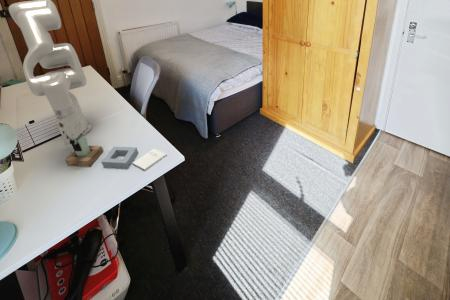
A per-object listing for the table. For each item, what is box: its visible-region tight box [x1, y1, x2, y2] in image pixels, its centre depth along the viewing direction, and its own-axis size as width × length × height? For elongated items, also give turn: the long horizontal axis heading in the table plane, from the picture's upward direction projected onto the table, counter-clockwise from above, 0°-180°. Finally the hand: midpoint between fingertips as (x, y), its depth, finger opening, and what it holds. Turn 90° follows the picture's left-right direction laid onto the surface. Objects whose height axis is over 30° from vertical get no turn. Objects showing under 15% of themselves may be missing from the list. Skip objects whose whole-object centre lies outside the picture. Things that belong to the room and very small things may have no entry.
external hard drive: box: [131, 148, 168, 172], centre depth 121 cm, size 2×8×12 cm
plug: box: [72, 135, 91, 157], centre depth 121 cm, size 4×4×10 cm
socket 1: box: [65, 145, 104, 168], centre depth 124 cm, size 11×11×3 cm
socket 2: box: [101, 146, 139, 170], centre depth 121 cm, size 11×11×3 cm
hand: (81, 147), depth 122 cm, fingers closed on plug, 4 cm apart
